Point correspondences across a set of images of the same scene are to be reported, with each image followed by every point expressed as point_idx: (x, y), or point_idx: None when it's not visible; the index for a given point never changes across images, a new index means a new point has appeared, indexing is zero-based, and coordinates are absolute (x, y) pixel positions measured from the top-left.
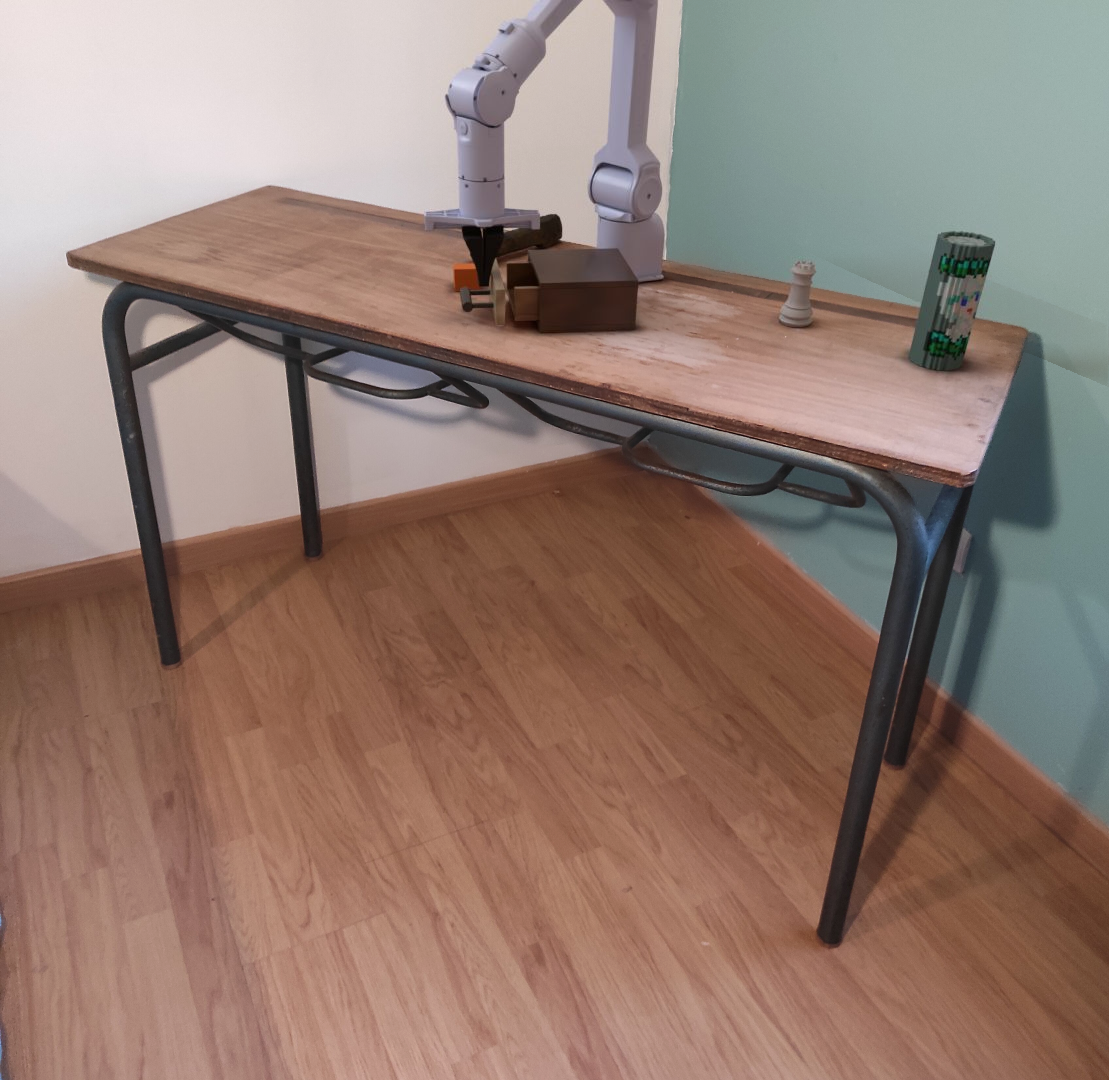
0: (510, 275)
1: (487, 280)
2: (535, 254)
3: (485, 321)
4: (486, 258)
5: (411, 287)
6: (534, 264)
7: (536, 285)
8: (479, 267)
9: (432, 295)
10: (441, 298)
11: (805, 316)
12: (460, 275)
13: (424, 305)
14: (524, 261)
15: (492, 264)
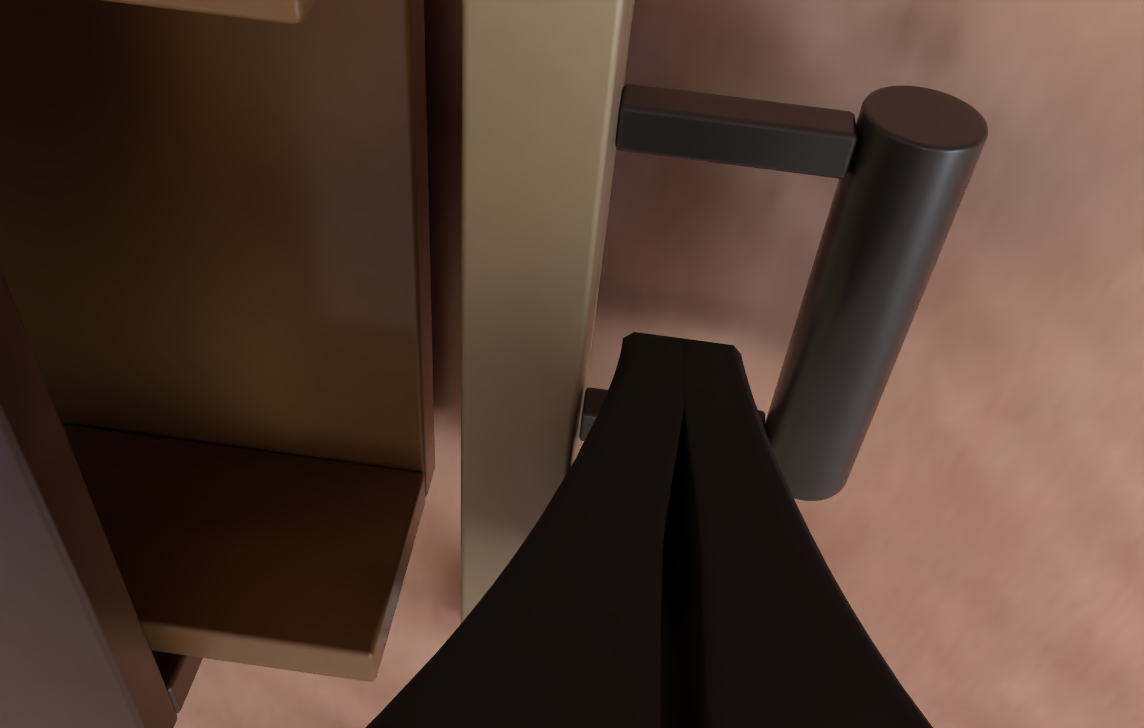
0: (369, 553)
1: (643, 371)
2: (69, 687)
3: (705, 65)
4: (643, 592)
5: (1014, 688)
6: (24, 495)
7: (180, 451)
8: (750, 503)
9: (940, 581)
10: (900, 534)
11: None
12: None
13: (1080, 465)
14: (209, 652)
15: (557, 507)
